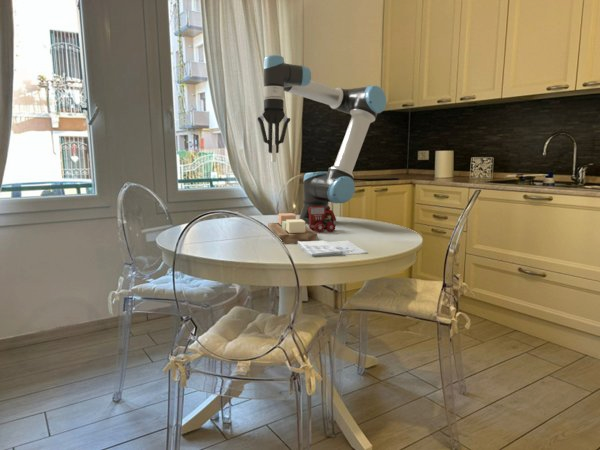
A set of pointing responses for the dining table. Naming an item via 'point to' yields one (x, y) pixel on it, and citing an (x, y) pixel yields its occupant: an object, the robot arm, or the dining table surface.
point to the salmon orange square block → (285, 217)
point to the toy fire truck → (321, 219)
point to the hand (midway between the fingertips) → (273, 161)
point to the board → (292, 234)
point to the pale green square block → (284, 225)
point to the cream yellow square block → (295, 226)
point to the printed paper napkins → (330, 248)
